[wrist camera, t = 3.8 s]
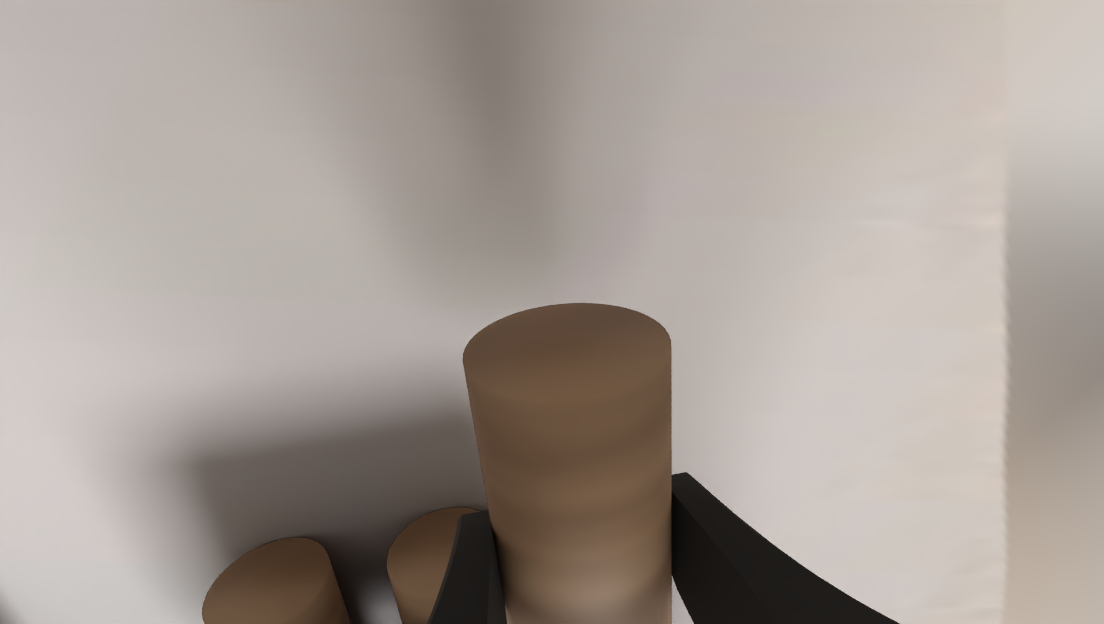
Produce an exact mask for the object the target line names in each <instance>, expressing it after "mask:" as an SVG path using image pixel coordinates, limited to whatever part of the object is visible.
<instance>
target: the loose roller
mask: <svg viewBox="0 0 1104 624" xmlns="http://www.w3.org/2000/svg"><path fill="white" fill-rule="evenodd" d="M463 364H464V370H465V376H466V382H467V388H468V394H469V399H470V405H471V411H472V417H473V423H474V429H475V435H476V440H477V446H478V452H479V458H480V464H481V470H482V475H483V481H484V487H485V493H486V499H487V505H488V511H489V516H490V521H491V525H492V531H493V537H494V543H495V549H496V555H497V560H498V566H499V572H500V578H501V584H502V590H503V596H504V602H505V609H506V616H507V622H508V624H672V501H671V339H670V337H669V334H668V333H667V331H666V330H665V328H664V327H663V326H662V325H661V324H660V323H658V322H657V321H655V320H654V319H652V318H650V317H648V316H647V315H644V314H642V313H639V312H637V311H634V310H630V309H627V308H623V307H618V306H612V305H605V304H593V303H570V304H558V305H549V306H544V307H538V308H533V309H529V310H525V311H522V312H518V313H515V314H512V315H510V316H507V317H504V318H502V319H500V320H498V321H496V322H494V323H492V324H490V325H488V326H487V327H485V328H484V329H482V330H481V331H480V332H478V333H477V334H476V335H475V336H474V337H473V338H472V339H471V340H470V341H469V343H468V344H467V346H466V348H465V350H464V353H463Z"/></svg>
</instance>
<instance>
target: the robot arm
mask: <svg viewBox="0 0 1104 624" xmlns="http://www.w3.org/2000/svg"><path fill="white" fill-rule="evenodd" d="M671 501H672V577H673V579H674V582H675V585H676V587H677V590H678V592H679V594H680V596H681V598H682V600H683V602H684V604H685V606H686V608H687V610H688V612H689V614H690V616H691V618H692V620H693V622H694V624H899V623H897V622H895V621H894V620H892V619H890V618H888V617H886V616H884V615H882V614H881V613H879V612H877V611H875V610H873V609H871V608H869V607H868V606H866V605H864V604H862V603H861V602H859V601H857V600H856V599H854V598H852V597H850V596H849V595H847V594H845V593H844V592H842V591H841V590H839V589H837V588H836V587H834V586H833V585H831V584H829V583H828V582H826V581H825V580H823V579H821V578H820V577H818V576H817V575H815V574H814V573H812V572H811V571H809V570H808V569H806V568H805V567H804V566H802V565H801V564H799V563H798V562H796V561H795V560H794V559H792V558H791V557H790V556H788V555H787V554H785V553H784V552H783V551H781V550H780V549H779V548H777V547H776V546H775V545H773V544H772V543H771V542H769V541H768V540H767V539H765V538H764V537H763V536H762V535H760V534H759V533H758V532H757V531H755V530H754V529H753V528H752V527H750V526H749V525H748V524H747V523H745V522H744V521H743V520H742V519H740V518H739V517H738V516H737V515H736V514H734V513H733V512H732V511H731V510H730V509H729V508H727V507H726V506H725V505H724V504H723V503H722V502H720V501H719V500H718V499H717V498H716V497H715V496H713V495H712V494H711V493H710V492H709V491H708V490H707V489H705V488H704V487H703V486H702V485H701V484H700V483H699V482H698V481H696V480H695V479H694V478H693V477H692V476H691V475H689V474H688V473H687V472H685V473H679V474H674V475H671ZM427 624H507V617H506V609H505V602H504V596H503V590H502V584H501V578H500V572H499V566H498V560H497V555H496V549H495V543H494V537H493V531H492V525H491V521H490V516H489V511H488V510H485V511H480V512H474V513H469V514H464V515H462V516H461V517H460V518H459V519H458V522H457V529H456V534H455V539H454V543H453V547H452V551H451V555H450V558H449V562H448V565H447V569H446V572H445V575H444V578H443V581H442V584H441V587H440V590H439V593H438V596H437V599H436V602H435V604H434V607H433V610H432V612H431V615H430V617H429V620H428V622H427Z"/></svg>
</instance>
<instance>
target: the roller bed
mask: <svg viewBox="0 0 1104 624" xmlns="http://www.w3.org/2000/svg"><path fill="white" fill-rule="evenodd" d="M474 512H479V511H477V510H473V509H469V508H459V507H456V508H446V509H441V510H437V511H434V512H431V513H428V514H426V515H424V516H422V517H420V518H418V519H417V520H415V521H413V522H412V523H411V524H409V525H408V526H407V527H406V528H405V529H404V530H403V531H401V533H400V534H399V535H398V536H397V537H396V539H395V540H394V542H393V544H392V545H391V547H390V550H389V553H388V557H387V571H388V575H389V578H390V582H391V585H392V589H393V593H394V596H395V600H396V603H397V607H398V610H399V614H400V617H401V621H402V624H427V622H428V620H429V617H430V615H431V612H432V610H433V607H434V604H435V602H436V599H437V596H438V593H439V590H440V587H441V584H442V581H443V578H444V575H445V572H446V569H447V565H448V562H449V558H450V555H451V551H452V547H453V543H454V539H455V534H456V529H457V522H458V519H459V518H460V517H461V516H462V515H464V514H469V513H474ZM202 616H203V621H204V623H205V624H351V622H350V619H349V616H348V613H347V610H346V607H345V604H344V601H343V598H342V595H341V592H340V589H339V586H338V583H337V580H336V577H335V574H334V571H333V568H332V565H331V562H330V559H329V556H328V554H327V552H326V550H325V549H324V547H323V546H322V545H320V544H319V543H318V542H316V541H313V540H311V539H306V538H286V539H281V540H277V541H273V542H270V543H267V544H265V545H262V546H260V547H258V548H256V549H254V550H252V551H250V552H248V553H247V554H245V555H243V556H242V557H240V558H239V559H238V560H236V561H235V562H234V563H232V564H231V565H230V566H229V567H228V568H227V569H225V570H224V572H223V573H222V574H221V575H220V576H219V577H218V578H217V579H216V580H215V582H214V583H213V585H212V586H211V588H210V589H209V591H208V593H207V595H206V597H205V600H204V603H203V608H202Z"/></svg>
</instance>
